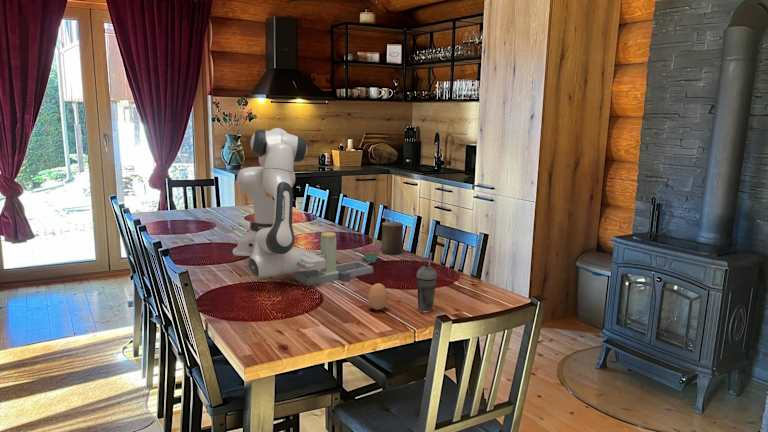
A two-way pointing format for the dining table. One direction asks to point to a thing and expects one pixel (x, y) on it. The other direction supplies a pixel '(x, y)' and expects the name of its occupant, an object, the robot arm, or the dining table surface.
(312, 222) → the dining table surface
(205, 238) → the dining table surface
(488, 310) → the dining table surface
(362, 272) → the grey divided tray
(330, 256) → the sage green tall block
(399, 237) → the pillar candle
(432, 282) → the beverage cup
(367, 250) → the cupcake
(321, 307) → the dining table surface
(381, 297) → the egg
